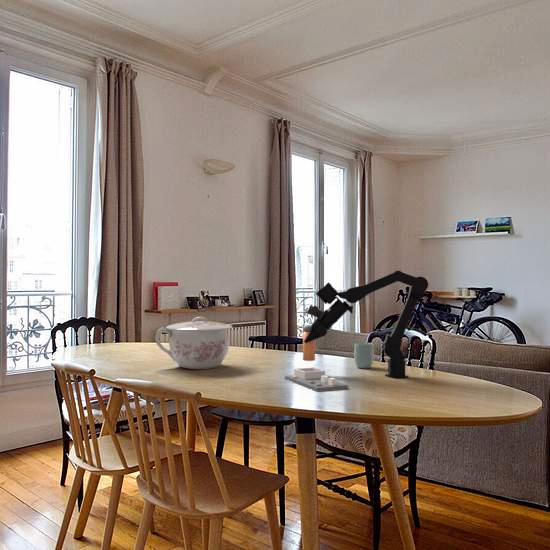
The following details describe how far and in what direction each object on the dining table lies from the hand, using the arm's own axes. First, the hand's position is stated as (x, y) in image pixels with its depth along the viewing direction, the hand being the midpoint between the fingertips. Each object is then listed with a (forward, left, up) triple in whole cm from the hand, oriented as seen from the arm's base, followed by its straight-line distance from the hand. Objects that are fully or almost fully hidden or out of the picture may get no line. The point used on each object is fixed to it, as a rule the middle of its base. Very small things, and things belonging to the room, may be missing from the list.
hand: (305, 341), depth 215 cm
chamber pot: (+31, +33, -13) cm, 47 cm away
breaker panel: (-19, +6, -12) cm, 23 cm away
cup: (+3, -29, -13) cm, 32 cm away
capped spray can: (-1, -1, -7) cm, 7 cm away
